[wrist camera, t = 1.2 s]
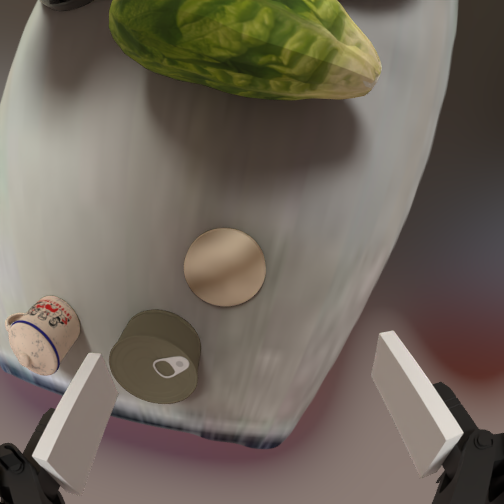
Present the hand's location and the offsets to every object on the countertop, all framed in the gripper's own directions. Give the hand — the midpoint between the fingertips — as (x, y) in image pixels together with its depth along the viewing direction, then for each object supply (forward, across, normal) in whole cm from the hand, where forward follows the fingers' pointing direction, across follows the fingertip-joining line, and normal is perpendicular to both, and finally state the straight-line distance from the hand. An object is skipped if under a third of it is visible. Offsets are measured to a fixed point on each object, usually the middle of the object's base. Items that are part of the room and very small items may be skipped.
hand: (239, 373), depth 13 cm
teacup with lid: (+25, -31, -11) cm, 42 cm away
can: (+25, -13, -16) cm, 33 cm away
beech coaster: (+25, -2, -5) cm, 26 cm away
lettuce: (+25, +3, +22) cm, 33 cm away
